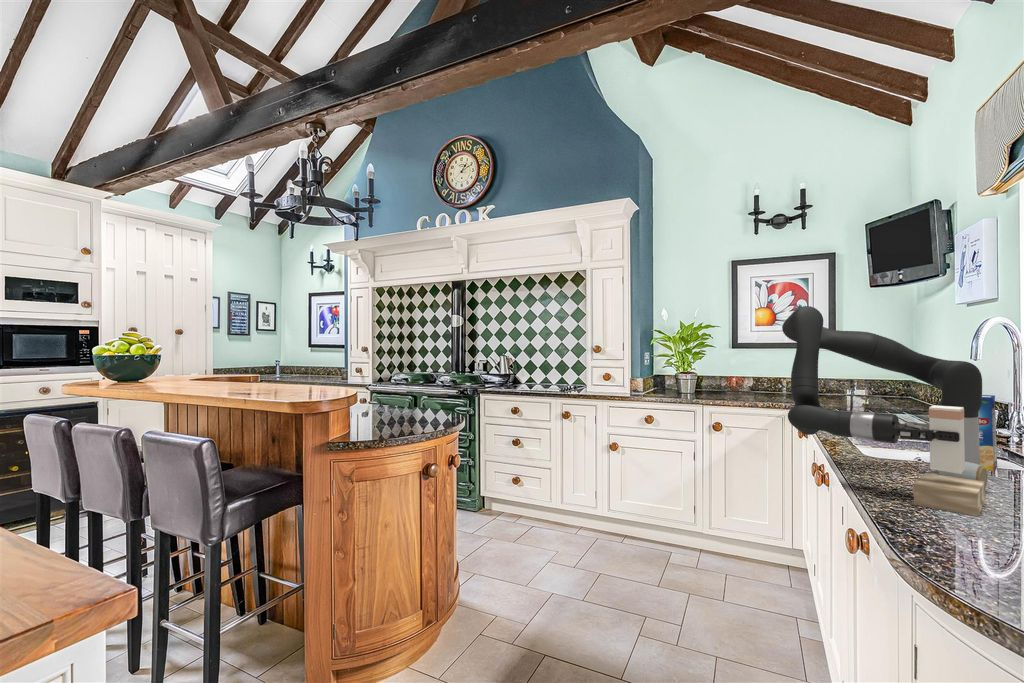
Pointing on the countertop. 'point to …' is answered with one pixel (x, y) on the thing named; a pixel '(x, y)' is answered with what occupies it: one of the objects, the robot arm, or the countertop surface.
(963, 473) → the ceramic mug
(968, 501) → the tan wooden block
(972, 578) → the countertop surface
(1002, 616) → the countertop surface
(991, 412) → the blue pasta box
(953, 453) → the carton
